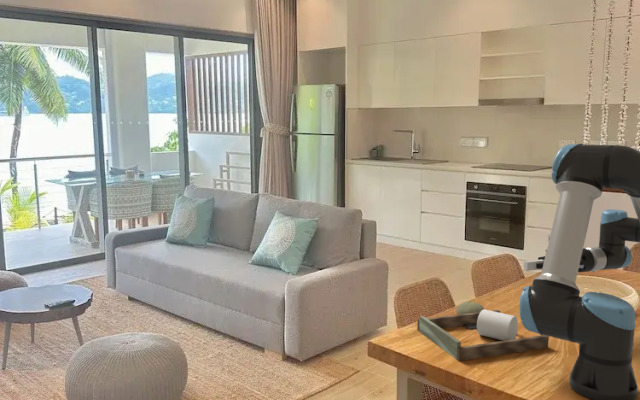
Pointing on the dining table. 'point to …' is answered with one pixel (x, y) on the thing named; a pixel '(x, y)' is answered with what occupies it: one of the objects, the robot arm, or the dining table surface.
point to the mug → (497, 325)
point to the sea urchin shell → (469, 308)
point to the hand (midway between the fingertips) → (525, 265)
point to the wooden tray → (453, 345)
